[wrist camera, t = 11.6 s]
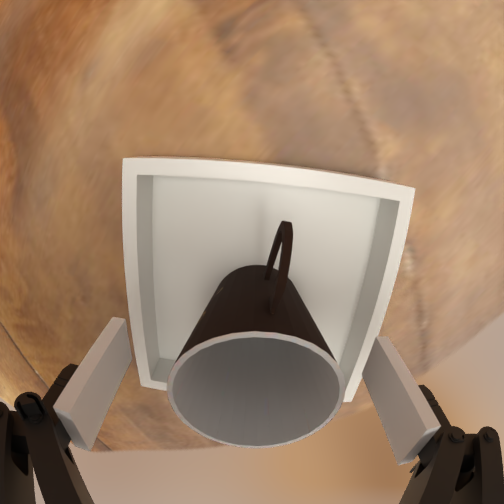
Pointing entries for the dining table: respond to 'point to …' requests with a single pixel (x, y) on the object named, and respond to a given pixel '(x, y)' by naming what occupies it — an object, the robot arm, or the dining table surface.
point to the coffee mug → (257, 361)
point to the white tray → (257, 249)
